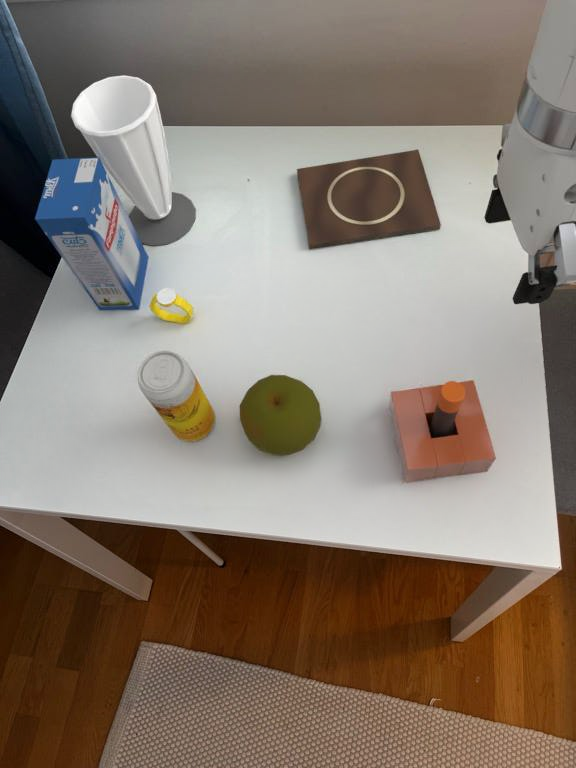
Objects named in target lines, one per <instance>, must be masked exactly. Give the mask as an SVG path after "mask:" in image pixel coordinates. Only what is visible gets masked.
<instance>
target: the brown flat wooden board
mask: <svg viewBox="0 0 576 768" xmlns="http://www.w3.org/2000/svg"><path fill="white" fill-rule="evenodd" d="M420 153H421V152H420V151H419V149H412V150H406V151H401V152H395V153H388V154H387V153H386V154H382V155H374V156H369V157H363V158H356V159H351V160H345V161H344V160H343V161H338V162H332V163H325V164H320V165H312V166H307V167H306V166H305V167H300V168H297V169H296V174H297V180H298V187H299V194H300V199H301V206H302V211H303V217H304V224H305V231H306V236H307V242H308V248H309V249H308V250H315V249H323V248H328V247H334V246H335V247H336V246H341V245H348V244H354V243H360V242H361V243H362V242H368V241H373V240H379V239H380V240H381V239H387V238H393V237H394V238H395V237H401V236H404V235H407V236H408V235H413V234H419V233H426V232H433V231H438V230H441V225H442V224H441V220H440V217H439V214H438V211H437V207H436V203H435V200H434V197H433V194H432V190H431V187H430V184H429V180H428V178H427V177H428V176H427V174H426V171H425V166H424V163H423V160H422V157H421V154H420Z"/></svg>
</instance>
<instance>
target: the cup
mask: <svg viewBox="0 0 576 768" xmlns="http://www.w3.org/2000/svg"><path fill="white" fill-rule="evenodd" d="M70 113H71V114H70V117H71V119H72V122H73V124H74V126H75V128H76V129H77V130H78V131H80V132H81V135H82V136H83V138H84V139H85V141H86V142H87V145H89V147H90V148H91V150H92V151H93V153H94V154H95V155H96V156H95V157H99V158H100V160H101V162H102V164H103V166H104V168H105V170H106V171H107V173H109V175H110V176H111V177H112V179H113V180H114V181H115V183H116V184H117V185H118V186H119V188H120V189H121V190H122V191H123V192H124V194H125V195H126V196H127V197H128V199H130V201H131V202H132V203H133V205H134V206H133V208H132V210H131V211H130V212H129V215H128V217H129V219H130V221H131V223H132V225H133V227H134V229H135V231H136V233H137V235H138V237H139V239H140V241H141V243H142V245H147V246H150V247H151V246H152V247H159V246H167V245H170V244H171V243H174V242H176V241H179V240H180V239H181V238H183V237H184V236H185V235H187V233H189V232H190V230H191V229H192V227H193V225H194V223H195V222H196V214H197V213H196V212H197V209H196V207H195V205H194V203H193V201H192V200H191V198H188V197H187V196H186V195H184V194H183V193H179V192H174V191H173V190H172V179H171V177H172V175H171V168H170V160H169V152H168V146H167V141H166V133H165V130H164V125H163V120H162V115H161V111H160V107H159V103H158V98H157V94H156V92H155V91H154V88H153V87H152V85H151V84H150V83H148V82H146V81H145V80H143V79H141V77H136V76H130V75H123V74H122V75H116V76H115V75H114V76H108V77H105V78H103V79H101V80H98V81H95V82H93V83H92V84H90V85H89V86H87V87H86V88H85V89H84V90H82V91H81V92H80V93H79V94H78V96H77V97H76V99H75V100H74V102H73V104H72V108H71V112H70Z"/></svg>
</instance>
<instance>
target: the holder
mask: <svg viewBox="0 0 576 768" xmlns="http://www.w3.org/2000/svg"><path fill="white" fill-rule="evenodd" d="M457 382H458V383H460V384H461V385H462V386H463V387H464V389H465V397H464V399H463V402H462V404H461V406H460V408H459V410H458V413H457V415H456V417H455V420H454V422H453V425H452V427H451V430H450V432H449V435H448V436H445V437H438V438H432V439H431V436H430V431H429V428H430V425H431V421H432V418H433V415H434V412H435V409H436V406H437V402H438V398H439V394H440V391H441V388H442V386H443V385H444V384H445V383H444V384H443V383H442V384H437V385H430V386H422V387H415V388H409V389H401V390H394V391H390V396H389V402H388V403H389V404H388V412H389V416H390V421H391V425H392V426H391V427H392V431H393V435H394V441H395V445H396V449H397V454H398V460H399V464H400V469H401V474H402V478H403V483H404V484H405V483H413V482H420V481H428V480H433V479H441V478H449V477H456V476H463V475H464V476H465V475H472V474H479V473H485V472H488V471H489V470H490V468H491V467H492V465H493V463H494V462H495V461H496V459H497V457H496V453H495V449H494V446H493V443H492V439H491V436H490V432H489V429H488V425H487V421H486V419H485V415H484V412H483V409H482V404H481V401H480V398H479V394H478V390H477V388H476V383H475V380H474V379H471V380H464V381H457Z"/></svg>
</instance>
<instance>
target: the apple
mask: <svg viewBox="0 0 576 768" xmlns="http://www.w3.org/2000/svg"><path fill="white" fill-rule="evenodd" d="M238 407H239V422H240V424H241V427H242V429H243V433H244V435H245V437H246V438H247V440H248V441H249V442H250V443H251V444H252V445H253V447H255V448H256V449H257V450H258V451H260V452H263V453H266V454H269V455H272V456H291V455H292V454H295V453H298V452H300V451H303V450H304V449H305V448H306V447H308V446H309V445H310V444H311V443H313V441H315V439H316V436H317V435H318V432H319V430H320V428H321V424H322V415H321V405H320V402H319V400H318V398H317V395H316V393H315V392H314V390H313V389H312V388H311V387H309V385H308V384H306V383H305V382H304V381H302V380H300V379H297V378H294V377H291V376H288V375H285V374H270V375H268V376H266V377H263V378H261V379H258V380H257V381H256V382H255V383H254V384H253V385H251V386H250V387H249V388H248V389H247V391H246V392H245V394H244V396H243V398H242V400H241V402H240V404H239V406H238Z"/></svg>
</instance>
